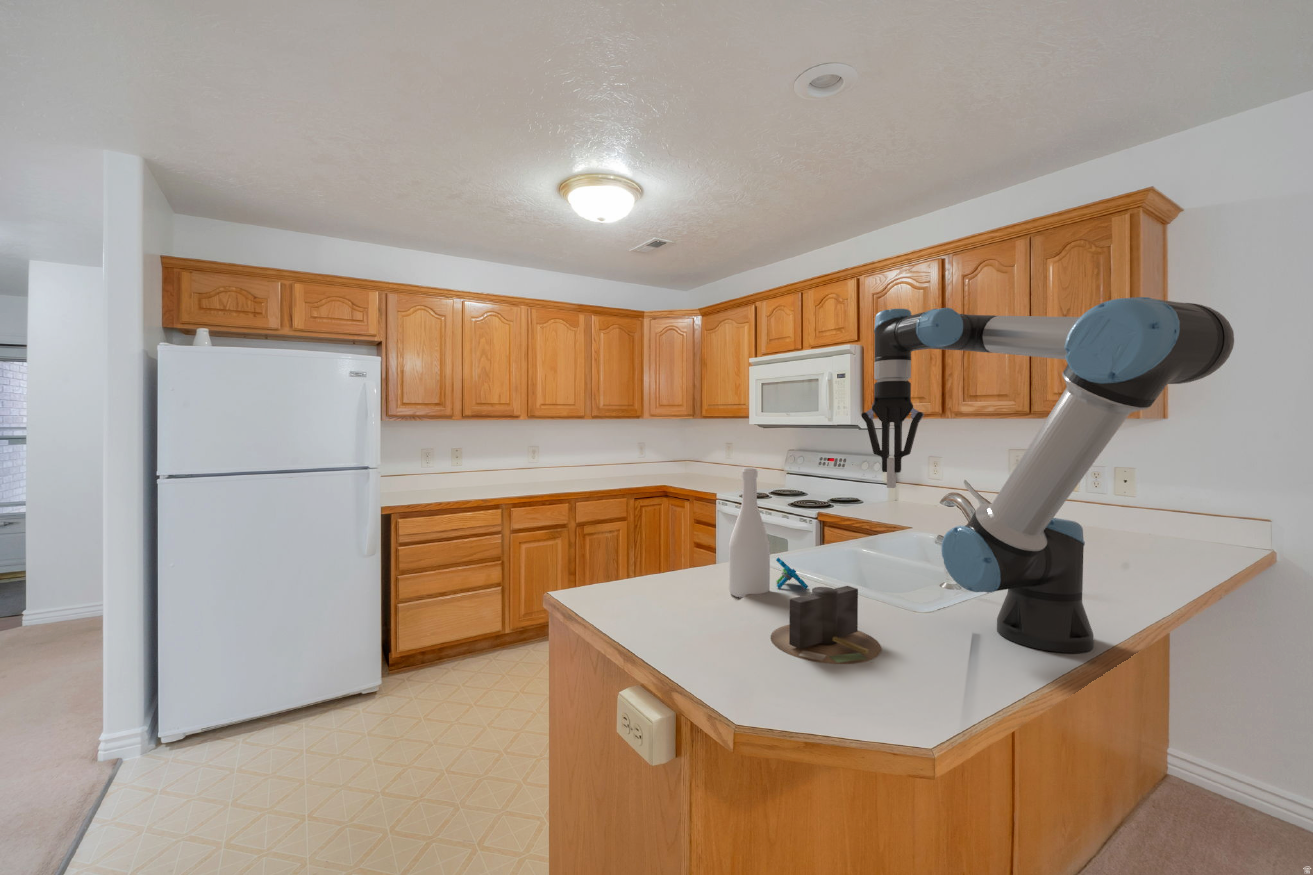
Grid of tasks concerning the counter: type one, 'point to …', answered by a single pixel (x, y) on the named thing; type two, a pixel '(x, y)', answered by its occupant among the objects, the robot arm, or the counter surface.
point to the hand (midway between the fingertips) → (891, 487)
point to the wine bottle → (749, 544)
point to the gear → (788, 575)
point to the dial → (829, 648)
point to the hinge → (824, 617)
